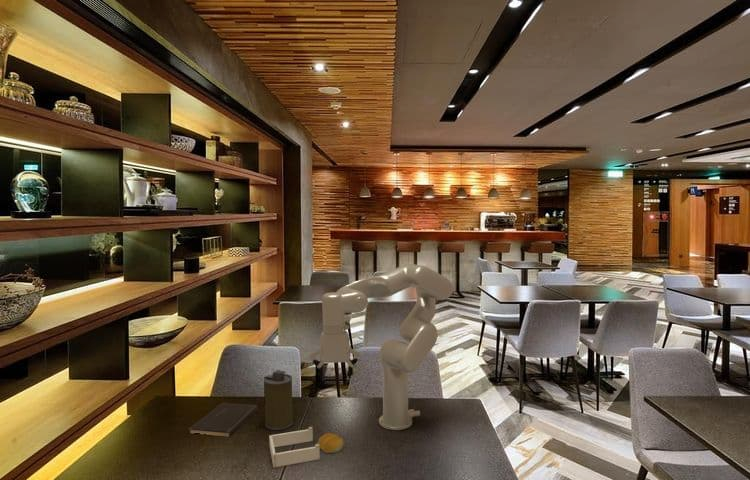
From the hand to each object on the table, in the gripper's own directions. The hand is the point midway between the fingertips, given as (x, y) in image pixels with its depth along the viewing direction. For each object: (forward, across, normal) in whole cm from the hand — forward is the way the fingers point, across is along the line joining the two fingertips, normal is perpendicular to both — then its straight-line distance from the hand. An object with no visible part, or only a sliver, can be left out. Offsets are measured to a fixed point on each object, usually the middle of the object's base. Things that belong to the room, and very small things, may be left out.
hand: (335, 377), depth 151 cm
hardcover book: (+22, +44, -17) cm, 53 cm away
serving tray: (+22, +14, +7) cm, 27 cm away
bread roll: (+23, +2, +4) cm, 23 cm away
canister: (+22, +24, -14) cm, 35 cm away
